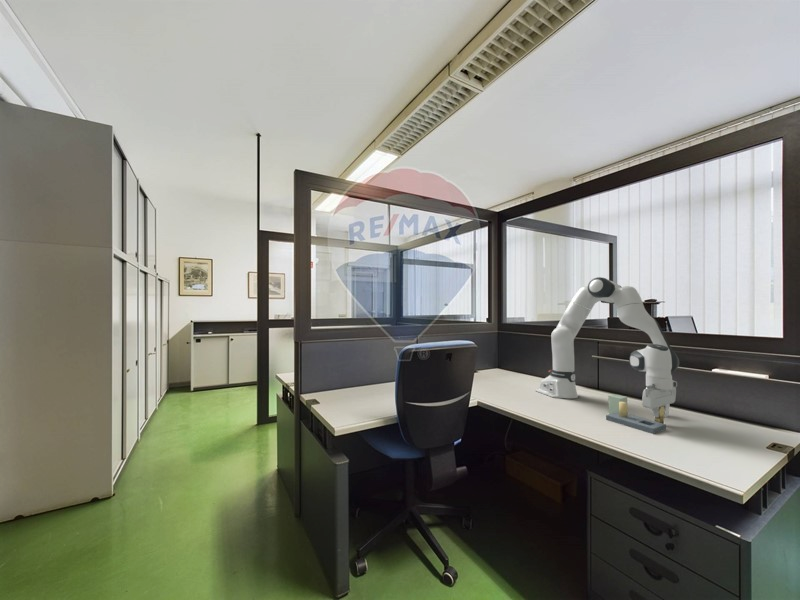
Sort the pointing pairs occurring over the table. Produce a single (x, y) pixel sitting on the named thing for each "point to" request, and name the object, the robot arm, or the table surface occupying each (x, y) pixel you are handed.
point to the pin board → (634, 420)
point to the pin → (661, 418)
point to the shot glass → (667, 411)
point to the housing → (615, 402)
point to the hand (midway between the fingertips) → (659, 415)
